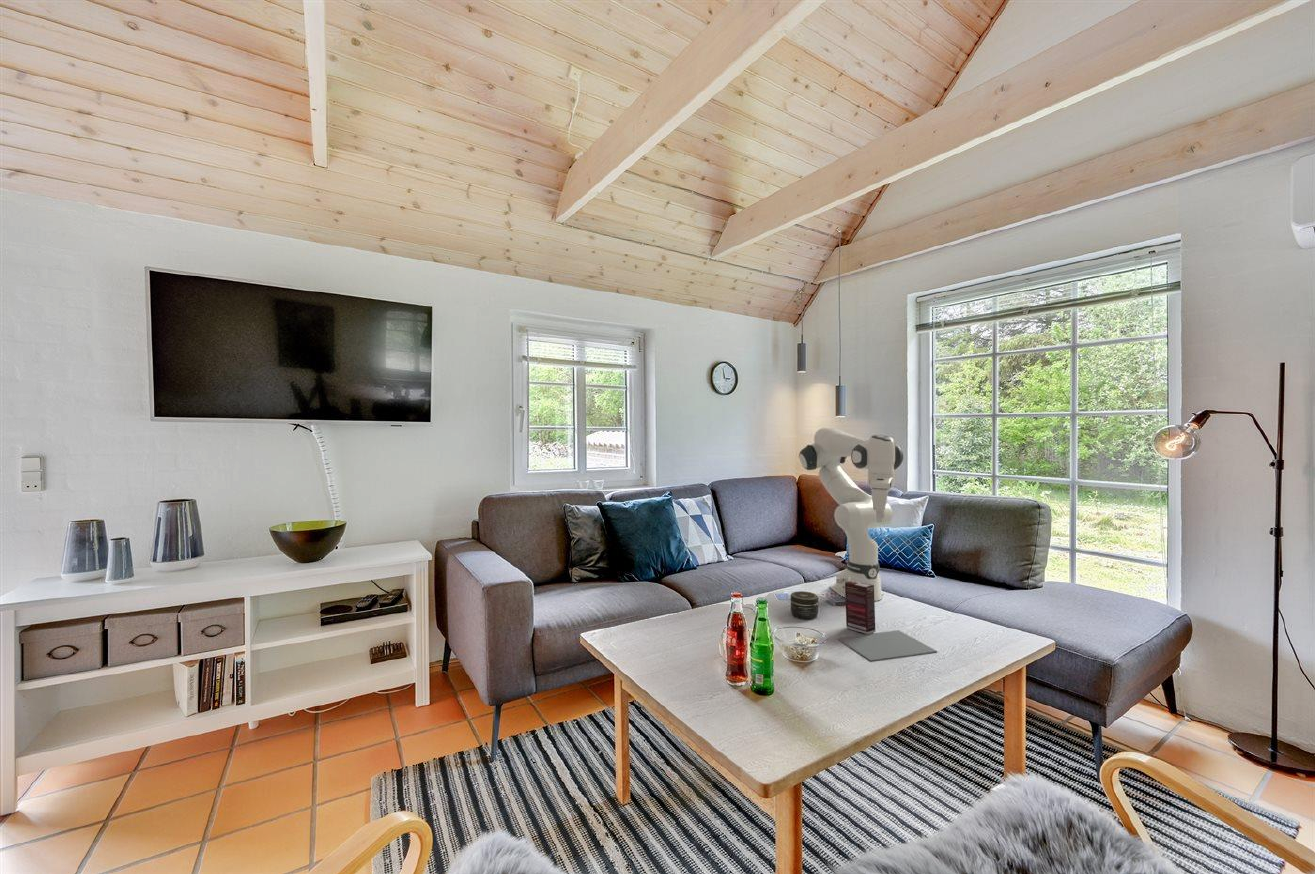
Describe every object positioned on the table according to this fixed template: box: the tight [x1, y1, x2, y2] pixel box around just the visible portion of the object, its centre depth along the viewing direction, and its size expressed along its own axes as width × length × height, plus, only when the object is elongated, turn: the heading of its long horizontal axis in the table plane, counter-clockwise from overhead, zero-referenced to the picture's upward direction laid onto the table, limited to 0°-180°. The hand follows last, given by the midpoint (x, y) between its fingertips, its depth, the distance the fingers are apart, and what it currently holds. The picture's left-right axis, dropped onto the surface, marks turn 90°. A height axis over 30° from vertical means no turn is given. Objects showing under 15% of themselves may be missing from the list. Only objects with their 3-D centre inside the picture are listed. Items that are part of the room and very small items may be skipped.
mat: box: [836, 629, 938, 662], centre depth 167 cm, size 17×24×1 cm
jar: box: [790, 590, 819, 621], centre depth 194 cm, size 10×10×8 cm
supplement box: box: [844, 581, 876, 634], centre depth 179 cm, size 9×5×16 cm, turn 35°
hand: (880, 519), depth 186 cm, fingers open, 8 cm apart
